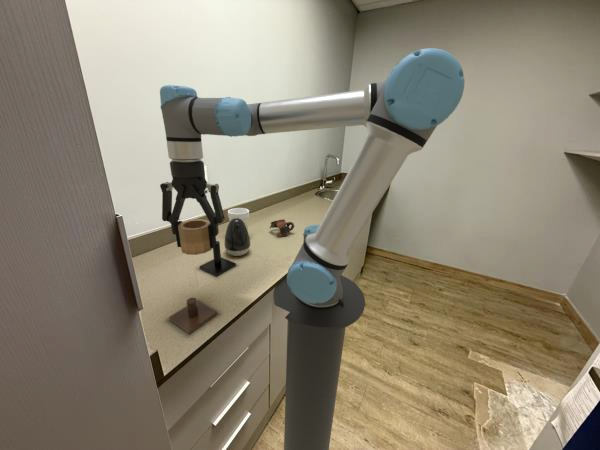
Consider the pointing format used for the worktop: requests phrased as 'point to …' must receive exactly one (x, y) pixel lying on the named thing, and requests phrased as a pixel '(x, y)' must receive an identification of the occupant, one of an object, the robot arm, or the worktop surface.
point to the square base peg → (217, 263)
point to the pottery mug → (282, 227)
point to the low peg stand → (192, 315)
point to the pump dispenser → (237, 238)
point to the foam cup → (239, 215)
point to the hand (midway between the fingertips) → (197, 245)
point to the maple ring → (194, 236)
